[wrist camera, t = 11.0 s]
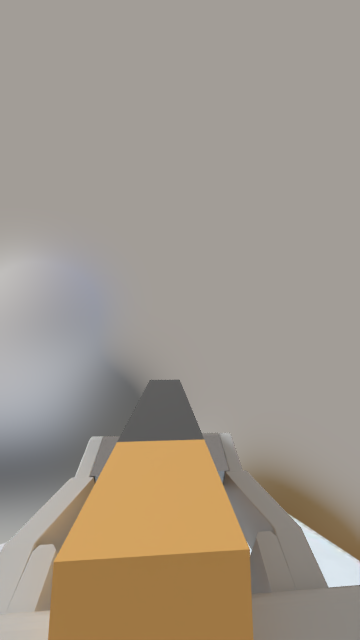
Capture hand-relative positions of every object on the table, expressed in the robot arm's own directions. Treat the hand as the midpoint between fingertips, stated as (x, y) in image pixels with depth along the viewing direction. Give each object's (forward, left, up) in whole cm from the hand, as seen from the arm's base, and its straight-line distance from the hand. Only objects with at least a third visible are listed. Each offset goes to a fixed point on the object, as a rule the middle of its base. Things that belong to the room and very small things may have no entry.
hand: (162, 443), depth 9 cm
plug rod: (0, +3, -2) cm, 3 cm away
